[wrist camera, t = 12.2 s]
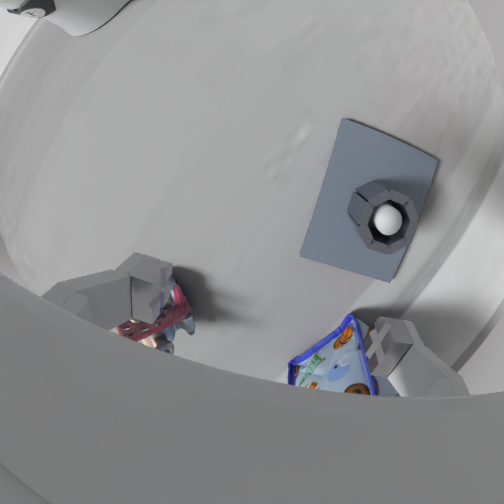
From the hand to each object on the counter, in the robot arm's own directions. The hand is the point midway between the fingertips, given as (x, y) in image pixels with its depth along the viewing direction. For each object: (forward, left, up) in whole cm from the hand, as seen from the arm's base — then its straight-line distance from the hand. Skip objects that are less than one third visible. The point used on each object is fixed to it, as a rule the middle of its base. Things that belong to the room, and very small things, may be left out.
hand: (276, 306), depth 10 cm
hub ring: (-2, +9, -19) cm, 22 cm away
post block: (-2, +9, -21) cm, 23 cm away
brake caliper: (+18, -12, -22) cm, 31 cm away
